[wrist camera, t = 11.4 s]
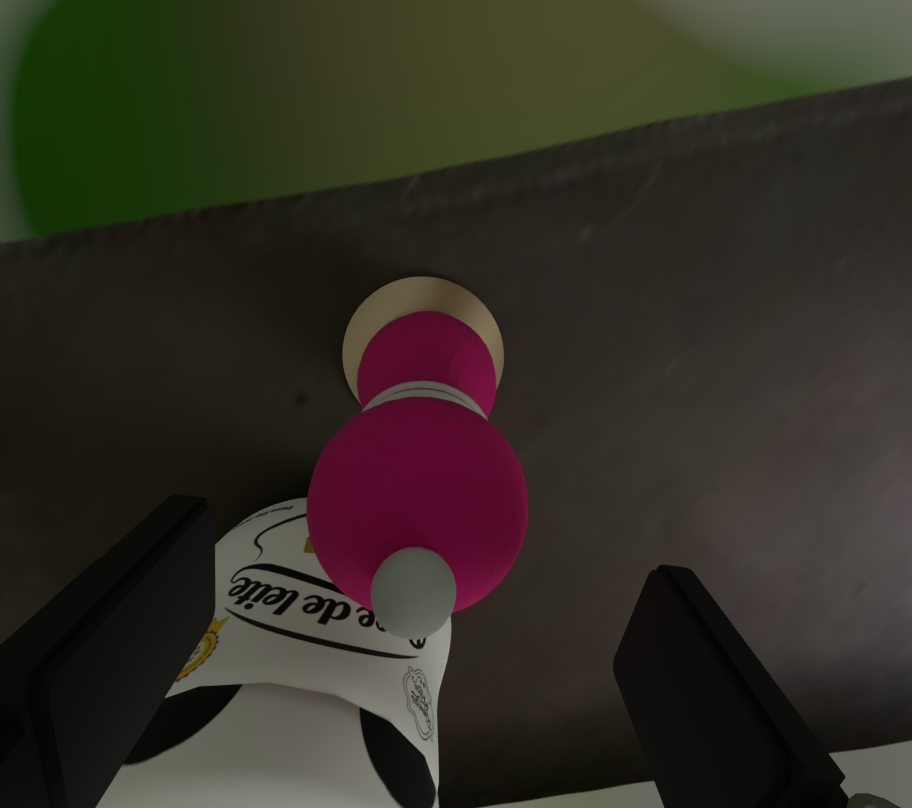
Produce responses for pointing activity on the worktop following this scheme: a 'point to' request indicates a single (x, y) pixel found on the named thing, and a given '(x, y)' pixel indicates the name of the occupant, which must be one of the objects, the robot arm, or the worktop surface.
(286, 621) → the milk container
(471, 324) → the plate
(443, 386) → the pepper mill
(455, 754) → the worktop surface
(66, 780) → the robot arm
